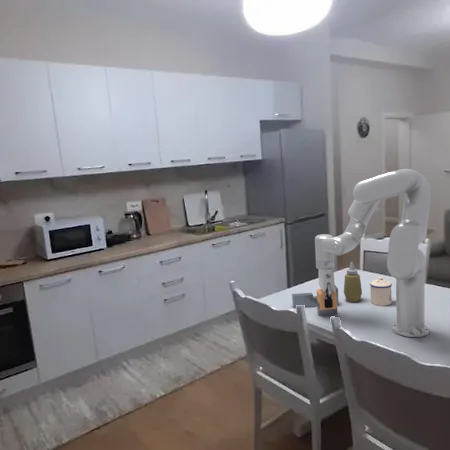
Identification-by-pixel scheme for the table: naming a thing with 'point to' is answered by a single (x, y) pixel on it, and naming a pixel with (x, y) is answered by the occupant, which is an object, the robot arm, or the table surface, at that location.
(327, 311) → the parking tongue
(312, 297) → the rail
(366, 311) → the table surface
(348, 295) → the squeeze bottle
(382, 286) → the teacup with lid
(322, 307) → the block
